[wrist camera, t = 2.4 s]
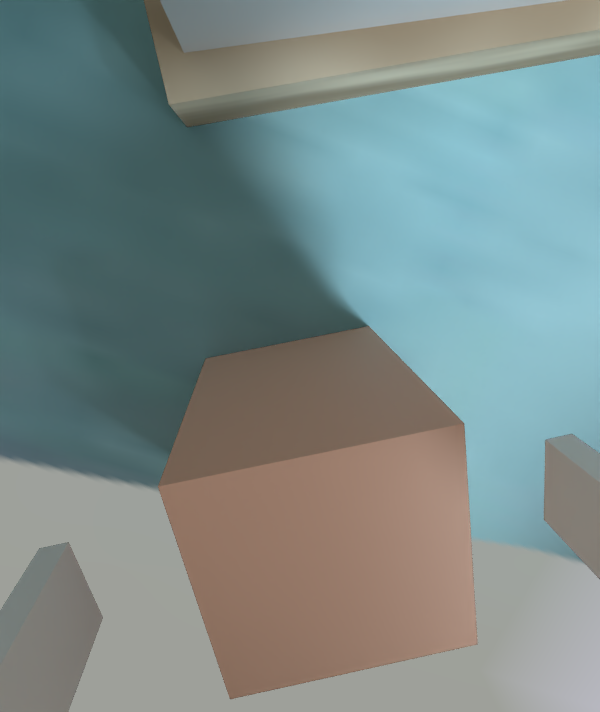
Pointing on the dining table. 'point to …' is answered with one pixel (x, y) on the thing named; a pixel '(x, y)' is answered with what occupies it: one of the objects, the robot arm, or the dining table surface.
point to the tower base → (365, 58)
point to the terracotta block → (321, 512)
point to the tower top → (304, 17)
